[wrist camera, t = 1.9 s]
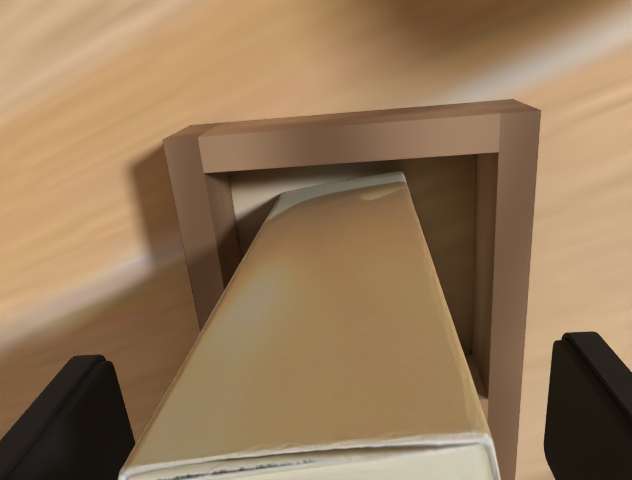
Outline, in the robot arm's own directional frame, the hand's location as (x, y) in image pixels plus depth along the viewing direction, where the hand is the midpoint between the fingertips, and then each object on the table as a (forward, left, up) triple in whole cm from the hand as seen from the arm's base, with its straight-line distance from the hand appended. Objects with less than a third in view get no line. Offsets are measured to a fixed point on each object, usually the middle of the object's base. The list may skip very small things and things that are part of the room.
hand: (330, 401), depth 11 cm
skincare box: (-1, 0, -8) cm, 8 cm away
